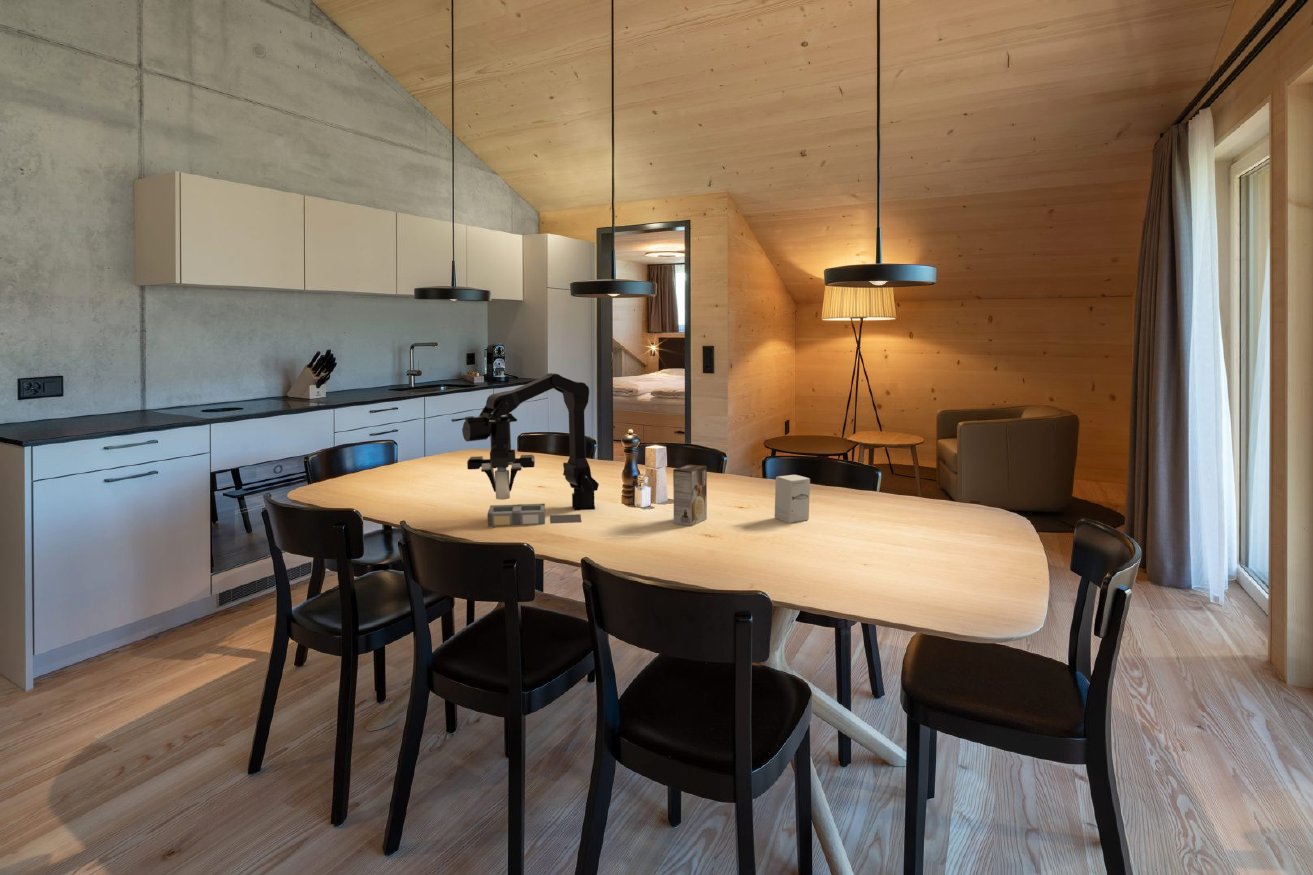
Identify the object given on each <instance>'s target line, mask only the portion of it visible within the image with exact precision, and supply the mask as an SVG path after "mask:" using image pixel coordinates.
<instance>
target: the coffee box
mask: <svg viewBox="0 0 1313 875" xmlns="http://www.w3.org/2000/svg"><path fill="white" fill-rule="evenodd" d="M672 471H673V475H672V476H673V478H672V480H673V482H672V483H673V493H672V494H673V524H675V525H681V526H682V525H683V526H688V527H689V526H690V527H693V526H695V525H697V524H699V523H701V522H704V521H705V520H707V518H708V517H707V512H708V511H707V510H708V509H707V508H708V502H707V501H708V500H707V499H708V498H707V496H708V495H707V493H708V490H707V489H708V488H707V486H708V484H707V482H708V481H707V478H708V476H707V474H708V473H707V471H708V470H707V465H698V464H697V465H696V464H686V465H682V466H680V467H676V468H673V469H672Z"/></svg>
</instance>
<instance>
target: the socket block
mask: <svg viewBox="0 0 1313 875" xmlns="http://www.w3.org/2000/svg"><path fill="white" fill-rule="evenodd" d="M487 511H488V512H487V515H486V516H487V528H488V529H489V528H492V529H493V528H496V527H506V526H508V527H509V526H510V527H511V526H531V525H545V524H546V503H525V504H524V503H523V504H520V503H519V504H494V505H493V504H492V505H490V506H489V509H488V510H487Z"/></svg>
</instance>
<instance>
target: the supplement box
mask: <svg viewBox="0 0 1313 875" xmlns="http://www.w3.org/2000/svg"><path fill="white" fill-rule="evenodd" d="M810 487H811V478H809V477H806V476H802V475H798V474H789V475H779V476H776V477H775V487H774V488H775V490H774V492H775V493H774V518H775V519H777V520H780V521H782V522H785V523H788V524H792V523H798V522H803V521H809V519H810V493H811V492H810V491H811V489H810Z"/></svg>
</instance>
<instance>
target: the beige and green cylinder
mask: <svg viewBox="0 0 1313 875" xmlns="http://www.w3.org/2000/svg"><path fill="white" fill-rule="evenodd" d="M494 476H495V487H496V492H495V499H496V500H500V501H501V500H508V499H510V498H511V491H510V490H509V485H510V470H509V469H507V468H503V467H501V468H496V470H494Z"/></svg>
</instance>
